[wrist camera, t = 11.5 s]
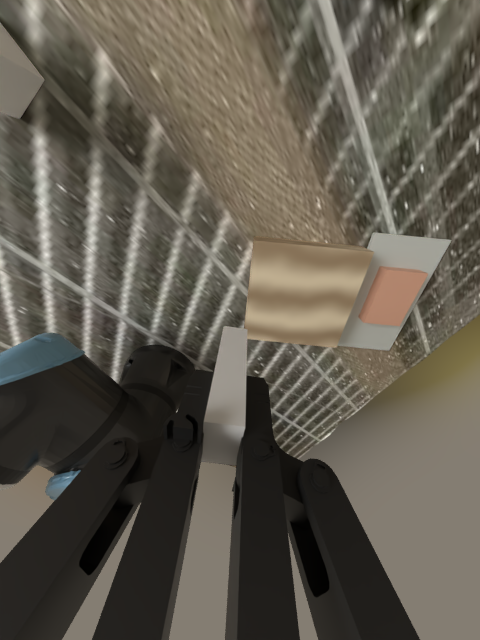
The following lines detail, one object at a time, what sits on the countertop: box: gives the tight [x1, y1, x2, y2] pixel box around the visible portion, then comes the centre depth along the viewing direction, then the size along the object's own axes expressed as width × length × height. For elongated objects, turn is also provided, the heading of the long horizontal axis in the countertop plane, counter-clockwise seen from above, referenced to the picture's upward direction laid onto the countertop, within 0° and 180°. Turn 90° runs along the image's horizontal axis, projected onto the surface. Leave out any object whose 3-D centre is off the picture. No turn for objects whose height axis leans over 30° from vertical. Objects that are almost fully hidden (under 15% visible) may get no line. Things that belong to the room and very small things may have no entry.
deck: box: [244, 236, 374, 348], centre depth 33 cm, size 16×16×4 cm
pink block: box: [359, 266, 428, 326], centre depth 33 cm, size 9×6×2 cm, turn 175°
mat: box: [337, 233, 451, 351], centre depth 35 cm, size 20×11×1 cm, turn 175°
